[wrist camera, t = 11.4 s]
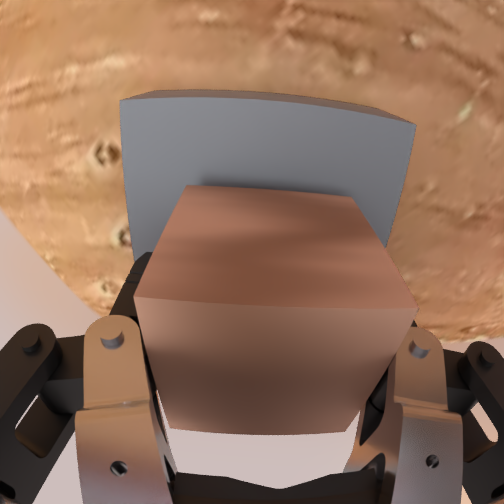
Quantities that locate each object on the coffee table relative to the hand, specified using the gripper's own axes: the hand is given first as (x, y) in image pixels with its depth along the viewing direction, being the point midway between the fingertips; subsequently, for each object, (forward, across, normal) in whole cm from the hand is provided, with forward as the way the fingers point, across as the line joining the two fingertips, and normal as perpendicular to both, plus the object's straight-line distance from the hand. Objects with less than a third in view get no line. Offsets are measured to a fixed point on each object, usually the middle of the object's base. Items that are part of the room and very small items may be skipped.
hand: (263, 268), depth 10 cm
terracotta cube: (+1, 0, 0) cm, 1 cm away
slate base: (+6, 0, 0) cm, 6 cm away
